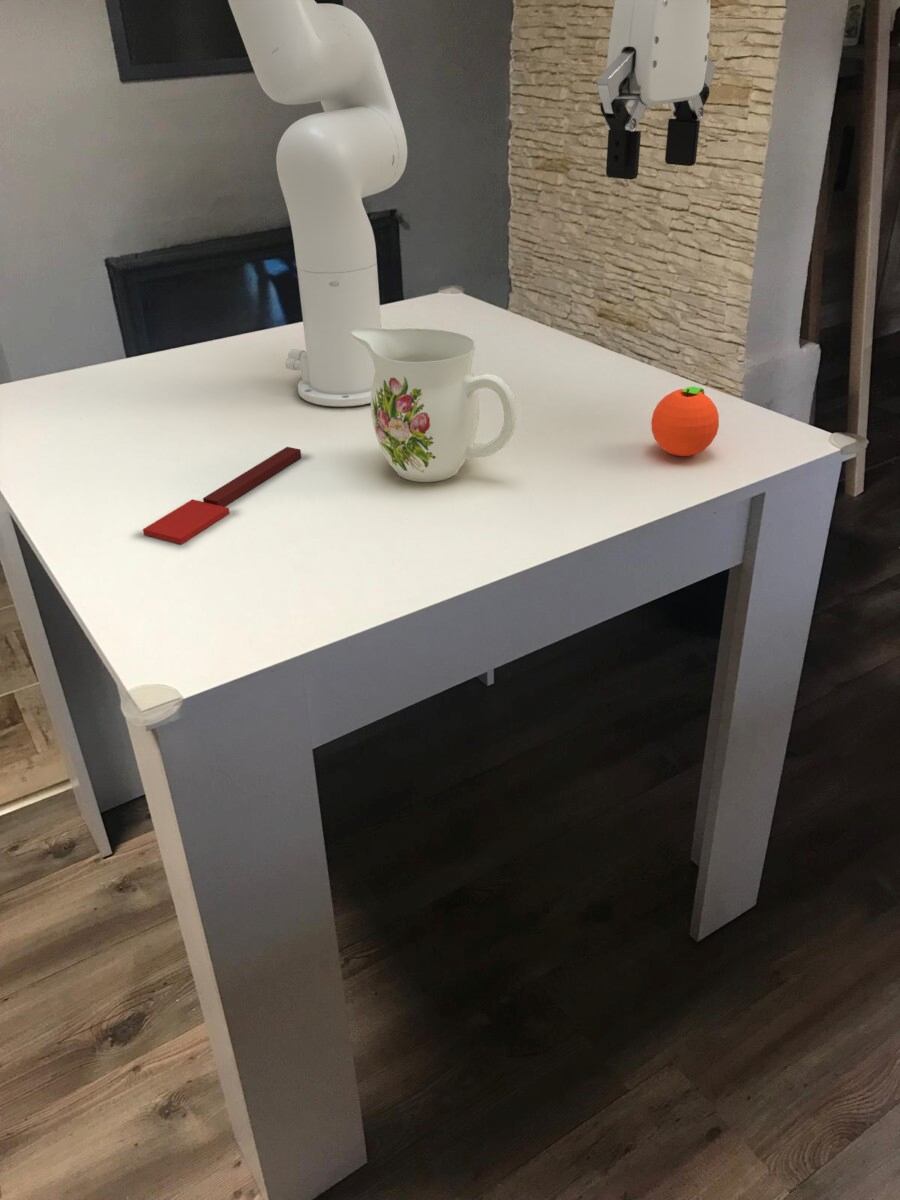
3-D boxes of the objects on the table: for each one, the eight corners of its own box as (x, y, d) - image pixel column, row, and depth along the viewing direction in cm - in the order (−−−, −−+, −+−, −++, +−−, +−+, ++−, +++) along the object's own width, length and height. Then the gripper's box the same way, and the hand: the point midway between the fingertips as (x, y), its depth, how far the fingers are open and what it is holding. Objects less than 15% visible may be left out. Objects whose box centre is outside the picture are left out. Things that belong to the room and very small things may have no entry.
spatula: (143, 534, 90) (141, 525, 90) (277, 452, 106) (276, 444, 105) (181, 544, 88) (179, 535, 88) (312, 459, 104) (311, 451, 103)
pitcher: (491, 507, 93) (490, 369, 86) (335, 476, 100) (322, 346, 93) (536, 464, 101) (538, 334, 94) (388, 438, 108) (380, 316, 101)
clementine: (669, 433, 107) (675, 371, 103) (729, 445, 104) (737, 382, 100) (637, 457, 102) (642, 393, 98) (699, 472, 98) (707, 405, 94)
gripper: (686, -42, 90) (668, 157, 99) (572, -43, 80) (564, 179, 89) (759, -46, 86) (733, 163, 95) (648, -47, 75) (631, 187, 84)
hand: (651, 171), depth 92 cm, fingers open, 9 cm apart
